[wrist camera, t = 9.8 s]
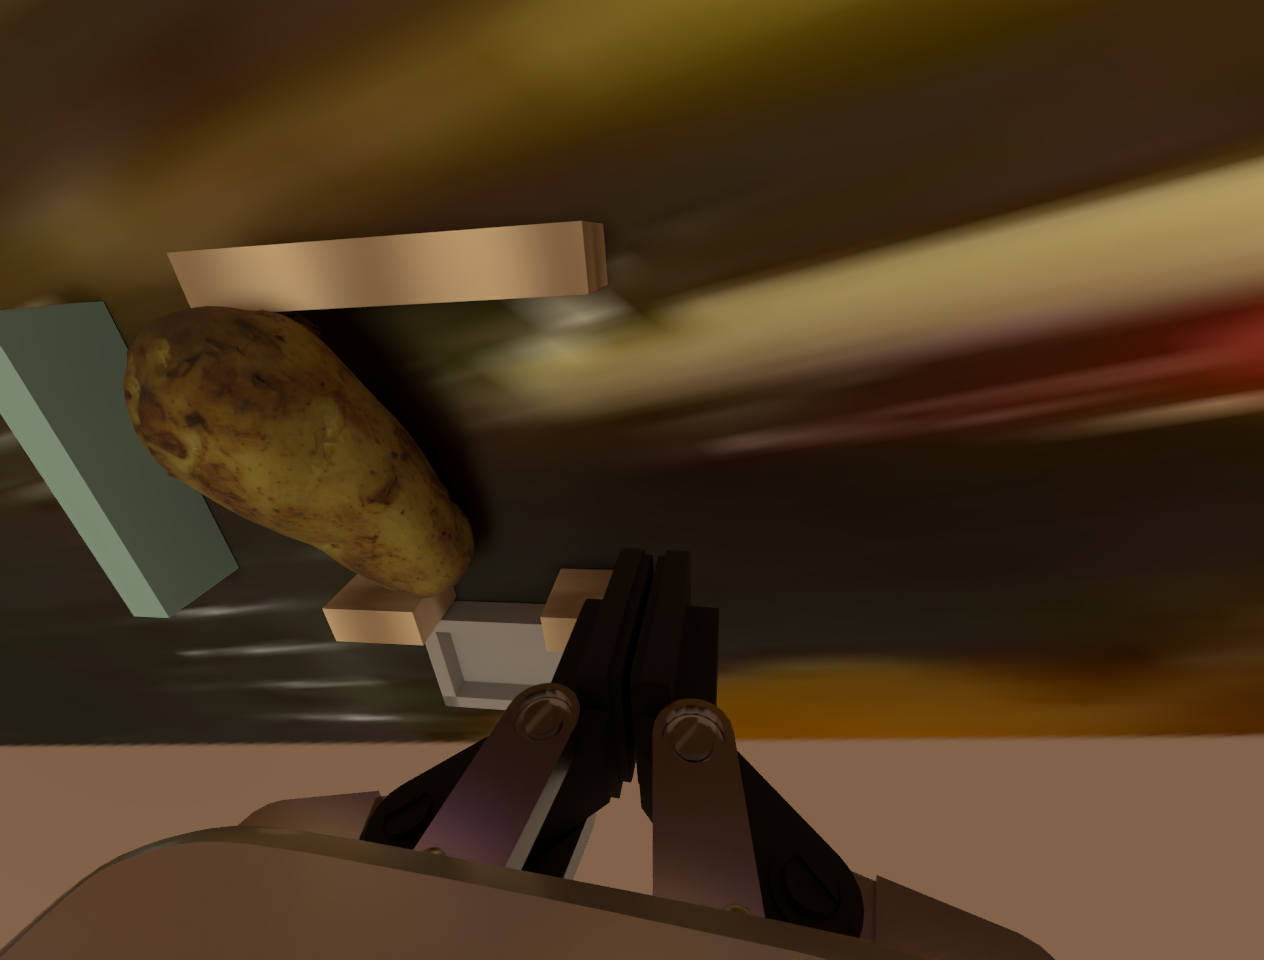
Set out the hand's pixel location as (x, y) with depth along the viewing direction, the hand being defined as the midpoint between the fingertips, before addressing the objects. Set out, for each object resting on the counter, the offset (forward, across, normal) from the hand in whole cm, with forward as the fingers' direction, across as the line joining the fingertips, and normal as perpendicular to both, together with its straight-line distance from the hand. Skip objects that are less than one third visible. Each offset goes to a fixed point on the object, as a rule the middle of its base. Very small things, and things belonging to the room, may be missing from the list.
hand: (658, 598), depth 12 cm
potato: (+9, +14, -1) cm, 16 cm away
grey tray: (+9, +9, +12) cm, 18 cm away
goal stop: (+8, +26, 0) cm, 27 cm away
